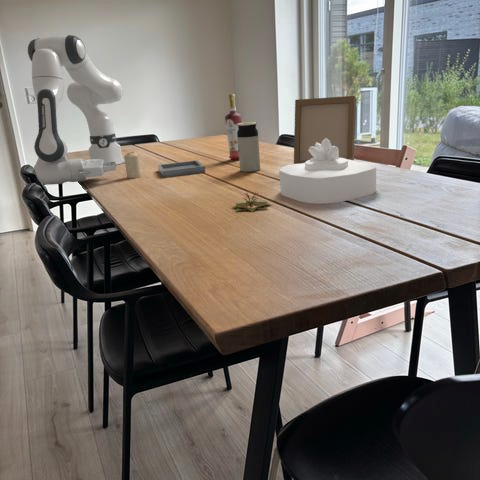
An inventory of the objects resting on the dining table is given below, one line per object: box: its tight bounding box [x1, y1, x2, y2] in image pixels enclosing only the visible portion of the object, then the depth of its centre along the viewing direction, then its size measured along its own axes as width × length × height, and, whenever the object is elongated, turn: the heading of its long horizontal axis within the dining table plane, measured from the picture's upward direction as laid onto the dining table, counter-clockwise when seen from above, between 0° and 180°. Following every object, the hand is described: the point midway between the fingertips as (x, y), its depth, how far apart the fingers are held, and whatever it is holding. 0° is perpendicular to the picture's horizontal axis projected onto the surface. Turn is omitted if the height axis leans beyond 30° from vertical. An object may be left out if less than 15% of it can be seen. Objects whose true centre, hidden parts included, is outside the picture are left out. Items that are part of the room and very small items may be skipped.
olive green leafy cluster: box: [231, 191, 271, 213], centre depth 129 cm, size 12×12×5 cm
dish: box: [157, 159, 206, 179], centre depth 190 cm, size 17×17×2 cm
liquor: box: [224, 93, 243, 161], centre depth 204 cm, size 7×7×28 cm
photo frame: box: [293, 95, 357, 164], centre depth 175 cm, size 15×22×25 cm
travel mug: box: [237, 121, 261, 173], centre depth 178 cm, size 8×8×18 cm
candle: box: [123, 151, 142, 179], centre depth 186 cm, size 6×6×10 cm
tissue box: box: [279, 138, 377, 205], centre depth 137 cm, size 25×25×16 cm
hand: (115, 165), depth 184 cm, fingers open, 8 cm apart
